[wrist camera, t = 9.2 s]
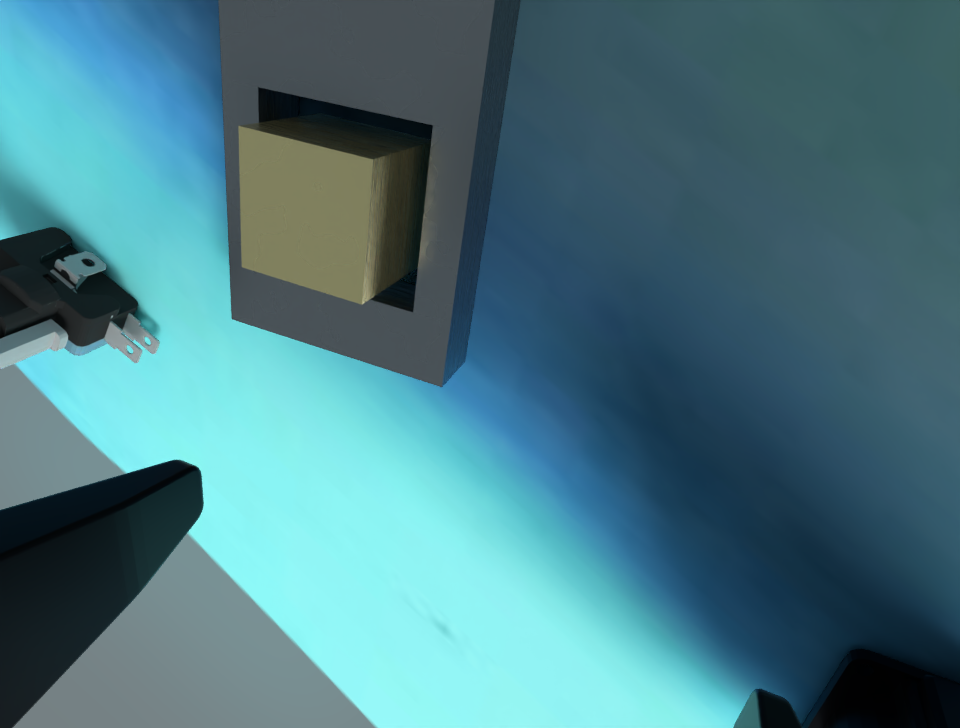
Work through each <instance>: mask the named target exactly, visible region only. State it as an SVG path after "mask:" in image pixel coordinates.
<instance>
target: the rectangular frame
mask: <svg viewBox="0 0 960 728" xmlns="http://www.w3.org/2000/svg"><path fill="white" fill-rule="evenodd" d="M519 6H520V0H219V24H220V48H221V73H222V97H223V121H224V145H225V169H226V193H227V217H228V241H229V265H230V289H231V313H232V319H233V320H236V321H239V322H242V323H245V324H248V325H252V326H255V327H258V328H261V329H264V330H267V331H270V332H273V333H276V334H279V335H282V336H286V337H289V338H292V339H295V340H298V341H301V342H304V343H307V344H310V345H313V346H316V347H320V348H323V349H326V350H329V351H332V352H335V353H338V354H341V355H344V356H347V357H350V358H354V359H357V360H360V361H363V362H366V363H369V364H372V365H375V366H378V367H381V368H384V369H388V370H391V371H394V372H397V373H400V374H403V375H406V376H409V377H412V378H415V379H418V380H421V381H425V382H428V383H431V384H434V385H437V386H440V387H442V386H443V385H444V384H445V383H446V382H447V381H448V380H449V379H450V378H451V377H452V375H453V374H454V373H455V372H456V371H457V370H458V369H459V368H460V367H461V365H462V364H463V363H464V362H465V358H466V352H467V345H468V338H469V332H470V325H471V319H472V312H473V306H474V299H475V293H476V286H477V280H478V273H479V267H480V260H481V254H482V247H483V241H484V234H485V228H486V221H487V215H488V208H489V202H490V195H491V189H492V182H493V175H494V169H495V162H496V156H497V149H498V143H499V136H500V130H501V123H502V117H503V110H504V104H505V97H506V91H507V84H508V78H509V71H510V65H511V58H512V52H513V45H514V39H515V32H516V25H517V19H518V12H519ZM299 96H301V97H306V98H310V99H315V100H319V101H324V102H329V103H333V104H338V105H342V106H347V107H351V108H356V109H361V110H365V111H370V112H374V113H379V114H384V115H388V116H393V117H397V118H402V119H406V120H411V121H416V122H420V123H425V124H429V125H433V129H432V139H431V148H430V158H429V167H428V177H427V186H426V196H425V205H424V215H423V224H422V234H421V243H420V253H419V262H418V272H417V281H416V285H413V284H409V283H406V282H402V281H399V280H398V281H397V282H395V283H394V284H392V285H391V286H389V287H388V288H386V289H385V290H383V291H382V292H380V293H379V294H377V295H376V296H374V297H373V298H371V299H370V300H368V301H367V302H365V303H364V304H362V305H361V304H358V303H355V302H352V301H349V300H345V299H342V298H339V297H336V296H333V295H329V294H326V293H323V292H320V291H317V290H313V289H310V288H307V287H304V286H300V285H297V284H294V283H291V282H288V281H284V280H281V279H278V278H275V277H272V276H268V275H265V274H262V273H259V272H256V271H252V270H249V269H246V268H243V267H242V258H241V215H240V171H239V128H238V126H240V125H247V124H253V123H260V122H266V121H273V120H279V119H286V118H292V117H298V106H299Z"/></svg>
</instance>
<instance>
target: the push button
mask: <svg viewBox="0 0 960 728" xmlns="http://www.w3.org/2000/svg"><path fill="white" fill-rule="evenodd" d="M71 241H72V239H71V238H70V236H68V235H67V234H66V233H65V232H64V231H62V230H61V229H59V228H55V227H50V228H46V229H42V230H38V231H34V232H30V233H26V234H22V235H18V236H15V237H11V238H7V239H3V240H0V369H3V368H5V367H7V366H10V365H12V364H14V363H17V362H19V361H21V360H24V359H26V358H28V357H31V356H33V355H36V354H38V353H40V352H43V351H45V350H47V349H52V350H53V351H58V350H60V349H62V348H65V349H66V350H68V351H69V352H70V353H72V354H74V355H78V356H80V355H85V354H87V353H89V352H91V351H92V350H94V349H97V348H99V347H101V346H103V345H105V344H109V345H110V346H111V347H112V348H114V349H116V348H118V349H119V350H120V351H121V352H122V353H123V354H125V355H126V356H127V357H128V358H129V359H131V360H132V361H133V362H134V363H138V362H139V359H140V357H141V354H142V350H141V349H140V348H139V347H138V346H137V345H136V344H134V343H133V342H132V341H133V340H134V339H135V340H136V341H137V342H138V343H140V344H141V345H142V346H143V347H144V348H146V349H147V350H148V351H149V352H150V353H152V354H155V353H156V351H157V349H158V346H159V344H160V342H159V340H158V339H156V338H155V337H154V336H153V335H152V334H150V333H149V332H148V331H147V330H146V329H144V328H143V327H142V326H141V325H140V324H141V322H140V321H139V320H138V319H136V318H135V317H134V314H135V312H136V309H137V306H138V303H137V301H136V300H135V299H134V298H133V297H131V296H130V295H129V294H128V293H127V292H125V291H124V290H123V289H122V288H121V287H119V286H118V285H117V284H116V283H115V282H113V281H112V280H111V279H110V278H109V277H107V276H106V275H105V274H104V273H103V272H102V271H104V270H106V264H105V263H104V262H103V261H101V260H100V259H99V258H98V257H97V256H95V255H94V254H93V253H91V252H87V251H85V252H82V253H79V252H78V251H77V250H75V249H74V248H73V247H72V246H71ZM88 260H90V261H92V262H93V263H94V264H95V266H94V265H93V264H92V263H91V262H90V261H88ZM125 335H126V336H128V337H129V338H130V339H131V340H132V341H131V340H130V339H129V338H127V337H126V336H125ZM145 337H148V338H149V339H150V341H151V345H148V344H147V343H146V342H145V339H144V338H145ZM127 345H129V346H131V347H132V349H133V354H131V353H129V351H128V350H127Z"/></svg>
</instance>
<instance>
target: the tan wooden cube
mask: <svg viewBox="0 0 960 728" xmlns="http://www.w3.org/2000/svg"><path fill="white" fill-rule="evenodd" d="M238 128H239V171H240V215H241V258H242V267H243V268H246V269H249V270H252V271H256V272H259V273H262V274H265V275H268V276H272V277H275V278H278V279H281V280H284V281H288V282H291V283H294V284H297V285H300V286H304V287H307V288H310V289H313V290H317V291H320V292H323V293H326V294H329V295H333V296H336V297H339V298H342V299H345V300H349V301H352V302H355V303H358V304H361V305H362V304H364V303H365V302H367V301H368V300H370V299H371V298H373V297H374V296H376V295H377V294H379V293H380V292H382V291H383V290H385V289H386V288H388V287H389V286H391V285H392V284H394V283H395V282H397V281H398V280H400V279H401V278H403V277H404V276H406V275H407V274H409V273H410V272H412V271H413V270H415V269H416V268H418V262H419V253H420V243H421V234H422V224H423V215H424V205H425V196H426V186H427V177H428V167H429V158H430V148H431V139H427V138H423V137H418V136H414V135H410V134H406V133H402V132H397V131H393V130H389V129H385V128H381V127H376V126H372V125H368V124H364V123H360V122H355V121H351V120H347V119H343V118H339V117H334V116H330V115H326V114H322V113H318V114H312V115H305V116H299V117H292V118H286V119H279V120H273V121H266V122H260V123H253V124H247V125H240V126H238Z"/></svg>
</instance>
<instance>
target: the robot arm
mask: <svg viewBox="0 0 960 728" xmlns="http://www.w3.org/2000/svg"><path fill="white" fill-rule="evenodd" d="M203 504H204V502H203V489H202V476H201V471H200V470H199V468H198V467H197V466H194V465H192V464H189V463H187V462H184V461H182V460H172V461H168V462H165V463H161V464H158V465H154V466H151V467H147V468H144V469H140V470H137V471H133V472H130V473H127V474H123V475H120V476H116V477H113V478H109V479H106V480H102V481H99V482H96V483H92V484H89V485H85V486H82V487H78V488H75V489H72V490H68V491H64V492H61V493H57V494H54V495H50V496H47V497H44V498H40V499H37V500H33V501H30V502H27V503H23V504H19V505H16V506H12V507H9V508H6V509H2V510H0V728H12V727H14V726H15V725H16V724H17V723H18V721H19V720H20V719H21V718H22V717H23V716H24V715H25V714H26V713H27V712H28V711H29V710H30V709H31V708H32V707H33V706H34V704H35V703H36V702H37V701H38V700H39V699H40V698H41V697H42V696H43V695H44V694H45V693H46V692H47V691H48V690H49V689H50V687H52V685H53V684H54V683H55V682H56V681H57V680H58V679H59V678H60V677H61V676H62V675H63V674H64V673H65V672H66V670H68V669H69V668H70V666H71V665H72V664H73V663H74V662H75V661H76V660H77V659H78V658H79V657H80V656H81V655H82V654H83V653H84V652H85V651H86V649H88V647H89V646H90V645H91V644H92V643H93V642H94V641H95V640H96V639H97V638H98V637H99V636H100V635H101V634H102V633H103V632H104V631H105V629H106V628H107V627H108V626H109V625H110V624H111V623H112V622H113V621H114V620H115V619H116V618H117V617H118V616H119V615H120V613H122V611H123V610H124V609H125V608H126V607H127V606H128V605H129V604H130V603H131V602H132V601H133V600H134V599H135V597H136V596H137V595H138V594H139V593H140V592H141V591H142V589H143V588H144V587H145V586H146V585H147V583H148V582H149V581H150V580H151V578H152V577H153V576H154V575H155V573H156V572H157V571H158V570H159V568H160V567H161V566H162V564H163V563H164V562H165V561H166V559H167V558H168V557H169V555H170V554H171V553H172V552H173V550H174V549H175V548H176V546H177V545H178V544H179V542H180V541H181V540H182V539H183V537H184V536H185V535H186V534H187V532H188V531H189V530H190V529H191V527H192V526H193V525H194V523H195V522H196V521H197V520H198V518H199V516H200V515H201V512H202V510H203ZM861 664H865V665H869V666H859V665H861ZM733 728H960V684H959V683H956V682H954V681H951V680H948V679H945V678H943V677H940V676H937V675H935V674H932V673H929V672H926V671H924V670H921V669H918V668H915V667H913V666H910V665H907V664H905V663H902V662H899V661H896V660H894V659H891V658H888V657H885V656H883V655H880V654H877V653H875V652H872V651H869V650H865V649H855V650H852V651H850V652H849V653H848V654H847V655H846V656H845V658H844V660H843V661H842V663H841V664H840V666H839V668H838V669H837V671H836V672H835V674H834V675H833V677H832V679H831V680H830V682H829V683H828V685H827V687H826V688H825V690H824V691H823V693H822V694H821V696H820V698H819V699H818V701H817V702H816V704H815V706H814V707H813V709H812V710H811V712H810V714H809V715H808V717H807V718H806V720H805V721H804V723H803V725H802V726H801V724H800V722H799V720H798V718H797V716H796V714H795V712H794V710H793V708H792V706H791V704H790V703H789V702H788V701H787V700H786V699H785V698H783V697H780V696H778V695H775V694H773V693H770V692H767V691H765V690H762V689H755V690H754V691H753V692H752V693H751V695H750V697H749V699H748V700H747V702H746V704H745V706H744V708H743V710H742V711H741V713H740V715H739V717H738V719H737V721H736V722H735V725H734V727H733Z"/></svg>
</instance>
